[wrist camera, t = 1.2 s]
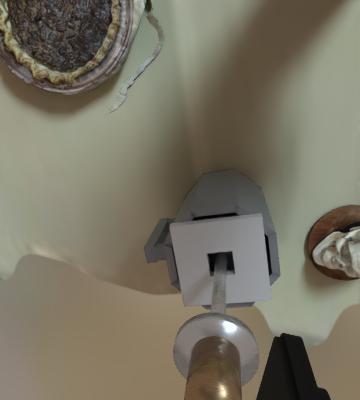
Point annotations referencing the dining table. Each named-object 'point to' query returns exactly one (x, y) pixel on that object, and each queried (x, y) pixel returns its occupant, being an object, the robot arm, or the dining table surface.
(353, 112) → the dining table surface
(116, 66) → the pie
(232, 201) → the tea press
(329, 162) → the dining table surface
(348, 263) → the skull
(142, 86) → the dining table surface
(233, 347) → the plunger
